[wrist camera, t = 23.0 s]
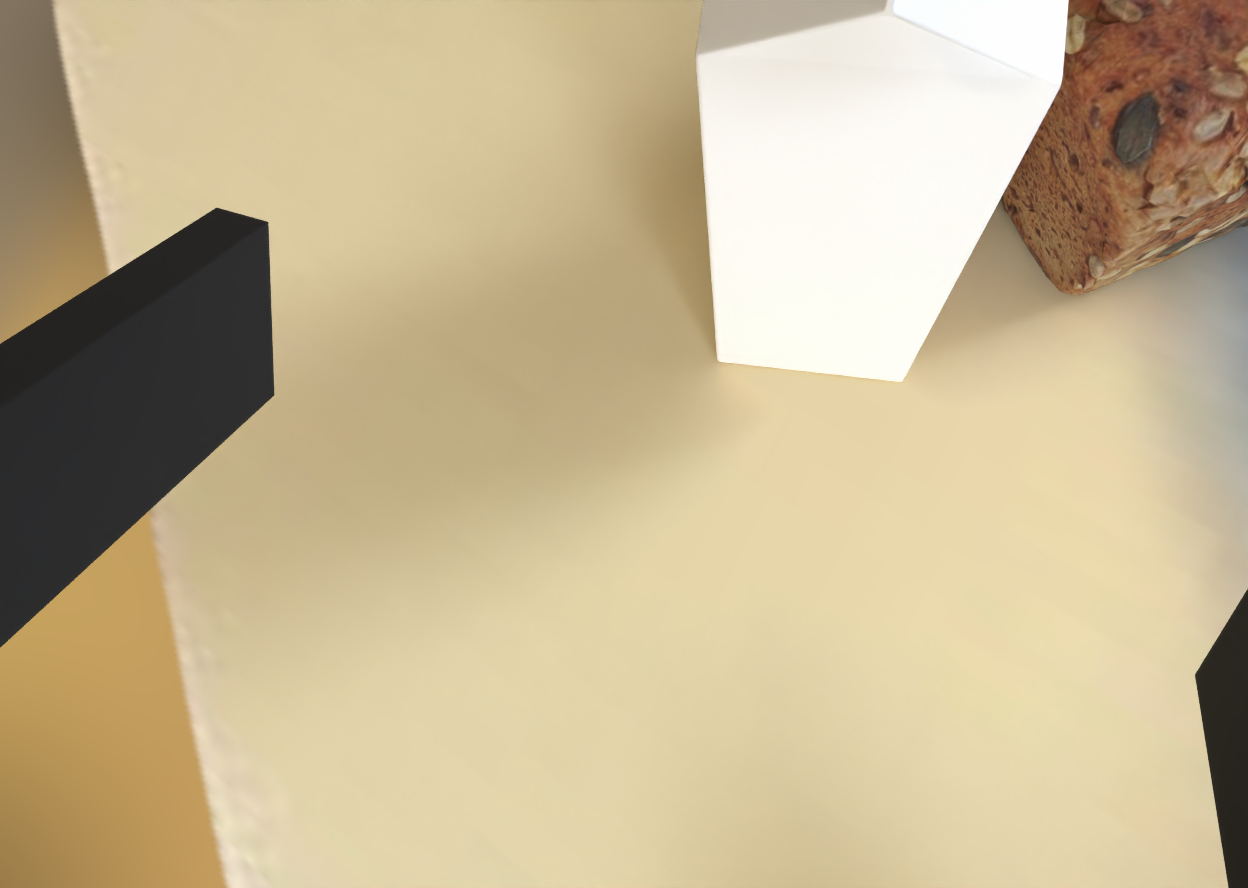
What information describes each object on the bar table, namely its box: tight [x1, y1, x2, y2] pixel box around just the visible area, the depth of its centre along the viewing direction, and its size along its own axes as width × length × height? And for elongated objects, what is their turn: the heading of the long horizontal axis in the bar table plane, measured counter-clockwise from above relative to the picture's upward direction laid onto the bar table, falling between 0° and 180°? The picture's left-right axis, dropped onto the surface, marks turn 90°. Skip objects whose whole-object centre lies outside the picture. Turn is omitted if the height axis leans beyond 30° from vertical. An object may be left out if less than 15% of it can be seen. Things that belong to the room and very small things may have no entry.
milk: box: [696, 0, 1069, 382], centre depth 27 cm, size 6×6×22 cm
